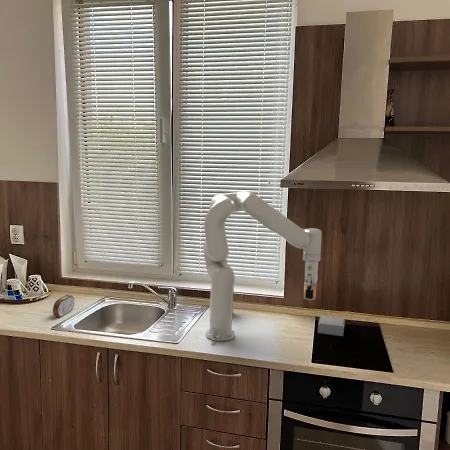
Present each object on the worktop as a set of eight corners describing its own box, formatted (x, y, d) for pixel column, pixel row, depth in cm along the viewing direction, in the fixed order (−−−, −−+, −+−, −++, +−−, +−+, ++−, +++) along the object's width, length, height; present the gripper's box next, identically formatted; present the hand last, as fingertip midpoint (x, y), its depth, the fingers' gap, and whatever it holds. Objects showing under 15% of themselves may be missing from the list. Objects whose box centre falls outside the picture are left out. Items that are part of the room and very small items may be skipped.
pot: (315, 300, 198) (316, 285, 197) (302, 299, 199) (303, 283, 198) (316, 297, 203) (317, 281, 202) (304, 295, 205) (304, 280, 203)
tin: (69, 308, 223) (69, 292, 221) (75, 309, 222) (75, 292, 221) (52, 319, 208) (51, 301, 207) (58, 319, 207) (58, 302, 206)
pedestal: (343, 336, 198) (343, 326, 197) (317, 332, 201) (318, 323, 200) (344, 327, 208) (344, 318, 208) (319, 324, 211) (320, 315, 211)
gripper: (318, 261, 189) (316, 303, 192) (322, 253, 205) (320, 291, 208) (300, 260, 191) (298, 301, 194) (305, 252, 207) (303, 290, 210)
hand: (309, 296), depth 201 cm, fingers closed on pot, 5 cm apart
